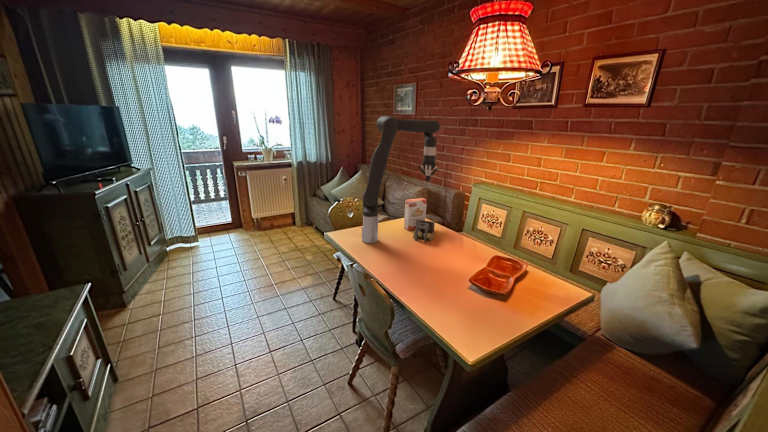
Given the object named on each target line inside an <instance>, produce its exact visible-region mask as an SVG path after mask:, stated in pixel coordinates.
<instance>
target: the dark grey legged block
mask: <svg viewBox="0 0 768 432" xmlns="http://www.w3.org/2000/svg"><path fill="white" fill-rule="evenodd" d="M435 223H436V221H432V220H431V221H430V220H425V221H424V220H416V228H415V229H414V230H415V238H414V241H418V240H419V237H418V231H419V232H425V236H424V238H423V239H424V240H423V242H425V243H427V242H428V239H427V234H428V233H432V232H434V233H433V238H434V237H435V226H436V225H435Z"/></svg>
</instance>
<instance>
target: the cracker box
mask: <svg viewBox="0 0 768 432" xmlns="http://www.w3.org/2000/svg"><path fill="white" fill-rule="evenodd" d="M427 202H428V200H427V199H426V198H424V197H419V198H410V199H405V203H404V204H405V205H404V217H403V218H404V223H403V228H404V229H405V230H406V231H413V230H415V228H416V220H424V221H426V217H427V216H426V213H427Z"/></svg>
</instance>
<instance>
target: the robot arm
mask: <svg viewBox="0 0 768 432" xmlns="http://www.w3.org/2000/svg"><path fill="white" fill-rule="evenodd" d="M376 128H377V130H378V131H380V132H381V139H380V142H379V143H378V146H377V147H376V149H375V150H374V152H372V156H371V160H370V164H369V172H368V182H367V185H366V188H365V189H364V191H363V193H362V226H361V241H362V242H363V243H365V244H375V243H377V242H378V240H379V197H380V190H381V185H382V181H383V178H384V176H385V172H386V169H387V165H388V162H389V156H390V152H391V150H392V145H393V141H394V140H395V139H394V138H395V136H396V134H397V131H400V132H401V131H403V132H409V133H423V137H424V148H423V161H422V164H421V165H420V166H418V169H419V170H420V171H421V173H422V174H423V175H425V181H426V182H427V183H428V182H430V181H431V179H432V178H431V177H432V176H433V175H435V174H436V173H437V171H438V170H439V169H440V168H439V167H438V166H437V164H436V159H437V137H435V136H434V134H435V133H438V132H439V130H440V129H441V124H440V123H439V121H437V120H423V119H405V118H404V119H402V118H395V117H392V116H388V115H382V116H380V117H379V118H378V119H377V121H376Z"/></svg>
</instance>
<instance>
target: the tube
mask: <svg viewBox="0 0 768 432" xmlns="http://www.w3.org/2000/svg"><path fill="white" fill-rule="evenodd" d="M412 232H413V233H412V238H413V239H415V229H414V231H413V230H412ZM433 233H434V234H435V231H434V232H432V233H428V234H427V240H429V242H432V241H433V239H434V237H433ZM424 236H425V232H419V231H418V238H420V239H424Z"/></svg>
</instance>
